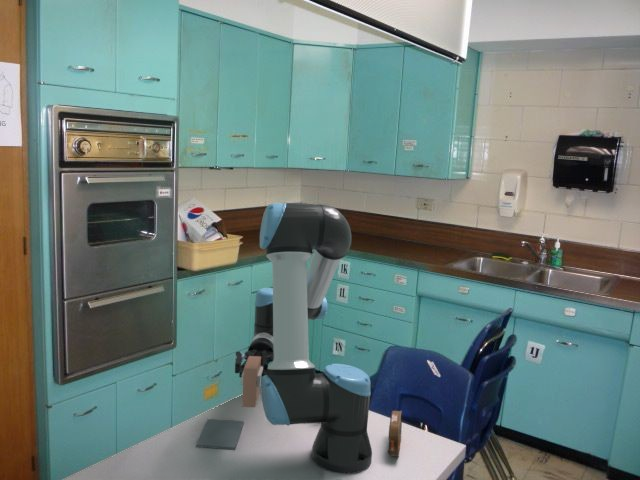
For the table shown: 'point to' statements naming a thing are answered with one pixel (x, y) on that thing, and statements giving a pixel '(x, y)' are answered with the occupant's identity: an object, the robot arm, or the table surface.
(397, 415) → the tin
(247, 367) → the block
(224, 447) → the mat
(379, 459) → the table surface
